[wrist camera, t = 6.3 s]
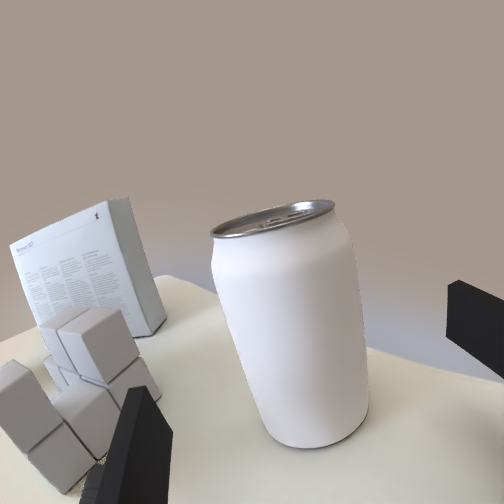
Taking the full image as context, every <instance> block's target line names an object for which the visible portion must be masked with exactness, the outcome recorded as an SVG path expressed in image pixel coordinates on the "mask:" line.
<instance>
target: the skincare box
mask: <svg viewBox="0 0 504 504" xmlns="http://www.w3.org/2000/svg"><path fill="white" fill-rule="evenodd" d="M10 249H11V252H12V255H13V259H14V262H15V265H16V269H17V272H18V275H19V277H20V280H21V284H22V287H23V290H24V293H25V295H26V298H27V301H28V303H29V306H30V308H31V310H32V313H33V315H34V317H35V320H36V322H37V325H38V326H39V325H41V324H42V323H44V322H46V321H47V320H49V319H51V318H52V317H54V316H56V315H57V314H59V313H61V312H62V311H64V310H66V309H67V308H69V307H72V308H90V309H91V308H116V309H120V310H121V312H122V314H123V317H124V319H125V321H126V324H127V326H128V328H129V331H130V333H131V335H132V337H138V336H147V335H152V334H153V333H154V331H155V330H156V329H157V328H158V327H159V326H160V324H161V323H162V322H163V321H164V320H165V318H166V317H167V315H166V313H165V310H164V307H163V305H162V302H161V299H160V297H159V294H158V291H157V288H156V285H155V282H154V280H153V277H152V274H151V271H150V268H149V265H148V262H147V259H146V256H145V252H144V249H143V246H142V243H141V240H140V236H139V233H138V230H137V226H136V223H135V219H134V215H133V212H132V208H131V204H130V201H129V197H125V198H119V199H113V200H107V201H104V202H102V203H99V204H97V205H95V206H92V207H90V208H87V209H85V210H83V211H80V212H78V213H76V214H74V215H72V216H69V217H67V218H65V219H63V220H61V221H58V222H56V223H54V224H52V225H50V226H48V227H45V228H43V229H41V230H39V231H37V232H35V233H33V234H31V235H29V236H27V237H25V238H23V239H21V240H19V241H17V242H15V243H13V244H12V245H10Z"/></svg>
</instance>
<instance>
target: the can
mask: <svg viewBox="0 0 504 504" xmlns="http://www.w3.org/2000/svg"><path fill="white" fill-rule="evenodd" d="M334 207H335V203H334V202H333V201H331V200H310V201H302V202H296V203H291V204H286V205H280V206H276V207H272V208H268V209H264V210H260V211H257V212H253V213H250V214H247V215H243V216H240V217H238V218H235V219H232V220H230V221H227V222H225V223H223V224H220V225H218V226H217V227H215V228H214V229H212V230H211V232H210V236H211V237H213V239H214V250H213V255H212V262H211V270H212V275H213V279H214V282H215V286H216V289H217V292H218V296H219V299H220V302H221V305H222V308H223V311H224V314H225V317H226V320H227V324H228V327H229V330H230V333H231V335H232V338H233V341H234V344H235V347H236V350H237V353H238V356H239V359H240V362H241V364H242V367H243V370H244V373H245V376H246V378H247V381H248V384H249V387H250V389H251V392H252V395H253V397H254V400H255V403H256V405H257V408H258V411H259V413H260V416H261V418H262V421H263V423H264V425H265V427H266V429H267V431H268V433H269V434H270V435H271V436H272V437H273V438H274V439H275V440H277V441H279V442H280V443H283V444H285V445H288V446H291V447H296V448H318V447H323V446H327V445H330V444H333V443H335V442H338V441H340V440H342V439H343V438H345V437H347V436H348V435H350V434H351V433H352V432H353V431H354V430H356V429H357V427H358V426H359V425H360V424H361V423H362V421H363V420H364V418H365V416H366V413H367V410H368V402H369V395H368V371H367V356H366V344H365V333H364V322H363V313H362V304H361V297H360V289H359V282H358V275H357V269H356V262H355V256H354V251H353V246H352V241H351V237H350V234H349V232H348V231H347V229H346V228H345V226H344V225H343V224H342V222H341V221H340V219H339V218H338V217H337V216H336V213H335V211H334Z"/></svg>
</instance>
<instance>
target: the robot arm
mask: <svg viewBox="0 0 504 504" xmlns="http://www.w3.org/2000/svg"><path fill="white" fill-rule="evenodd" d="M446 337H447V338H448V339H450V340H451V341H453V342H454V343H455V344H457V345H458V346H460V347H461V348H462V349H464V350H465V351H466V352H468V353H469V354H471V355H472V356H473V357H475V358H476V359H478V360H479V361H480V362H482V363H483V364H485V365H486V366H487V367H489V368H490V369H491V370H493V371H494V372H495V373H497V374H498V375H499V376H501V377H502V378H503V379H504V300H502V299H500V298H498V297H495V296H493V295H491V294H489V293H487V292H485V291H482V290H480V289H478V288H476V287H474V286H472V285H469V284H467V283H465V282H463V281H460V280H457V281H455V282H453V283H452V284H449V285H448V306H447V328H446ZM172 439H173V431H172V429H171V428H170V426H169V425H168V423H167V421H166V420H165V418H164V416H163V415H162V413H161V411H160V410H159V408H158V406H157V405H156V403H155V401H154V399H153V398H152V396H151V394H150V392H149V390H148V389H147V387H146V385H144V386H138V387H132V388H128V391H127V394H126V397H125V400H124V403H123V406H122V409H121V412H120V415H119V418H118V422H117V425H116V428H115V431H114V434H113V438H112V441H111V444H110V448H109V451H108V454H107V458H106V461H105V464H95V466H94V467H93V468H92V470H91V471H90V472H89V474H88V475H87V478H86V481H85V485H84V489H83V491H82V495H81V497H82V499H81V498H80V502H79V504H168V489H169V475H170V462H171V450H172Z"/></svg>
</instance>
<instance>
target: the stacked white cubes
mask: <svg viewBox="0 0 504 504" xmlns="http://www.w3.org/2000/svg"><path fill="white" fill-rule="evenodd" d="M38 328H39V330H40V333H41V335H42V337H43V339H44V341H45V343H46V345H47V347H48V349H49V351H50V353H51V355H49V356H48V357H46V358H45V359H44V360H43V363H44V365H45V367H46V368H47V370H48V372H49V374H50V375H51V377H52V379H53V380H54V382H55V384H56V385H57V387H58V389H59V390H60V391H61V393H60V394H58V395H57V396H56V397H55V398H53V399H52V400H51V401H50V400H49V399H48V397H47V395H46V394H45V392H44V391H43V389H42V388H41V386H40V384H39V383H38V381H37V379H36V378H35V376H34V374H33V373H32V371H31V370H30V369H28V368H26V367H25V366H23V365H22V364H20V363H18V362H17V361H15V360H11V361H9V362H8V363H6V364H5V365H3V366H2V367H0V426H1V427H2V429H3V430H4V431H5V433H6V434H7V435H8V437H9V438H10V439H11V440H12V441H13V443H14V444H15V445H16V446H17V448H18V449H19V450H20V451H21V452H22V453H23V454H24V456H25V457H26V458H27V459H28V460H29V461H30V462H31V463H32V465H33V466H34V467H35V468H36V469H37V470H38V471H39V472H40V473H41V474H42V475H43V476H44V477H45V478H46V479H47V480H48V481H49V482H50V483H51V484H52V485H53V486H54V487H55V488H56V489H57V490H58V491H59V492H60V493H62V494H65V493H66V492H67V491H68V490H69V489H70V488H71V487H72V486H73V485H74V484H75V483H76V482H77V481H78V480H79V479H80V478H81V477H82V476H83V475H84V474H85V473H86V472H87V471H88V470H89V469H90V468H91V467H92V466H93V465H94V464H95V463H96V460H95V459H94V458H93V457H95V458H96V459H100V458H101V457H102V456H103V455H104V454H105V453H106V452H107V451H108V450H109V448H110V444H111V441H112V438H113V434H114V431H115V428H116V425H117V422H118V418H119V415H120V412H121V409H122V406H123V403H124V400H125V397H126V394H127V391H128V388H132V387H138V386H144V385H146V387H147V389H148V390H149V392H150V394H151V396H152V398H153V399H154V401H156V400H157V399H158V398H159V397H160V396H161V394H160V392H159V390H158V388H157V386H156V384H155V382H154V380H153V379H152V377H151V375H150V373H149V371H148V369H147V367H146V365H145V363H144V361H143V359H142V358H141V357H138V356H139V355H140V352H139V350H138V348H137V346H136V344H135V342H134V340H133V337H132V335H131V333H130V331H129V328H128V326H127V324H126V321H125V319H124V317H123V314H122V312H121V310H120V309H116V308H91V309H90V308H72V307H69V308H67V309H66V310H64V311H62V312H61V313H59V314H57V315H56V316H54V317H52V318H51V319H49V320H47V321H46V322H44V323H42V324H41V325H39V326H38ZM91 455H92V456H93V457H92V456H91Z"/></svg>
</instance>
